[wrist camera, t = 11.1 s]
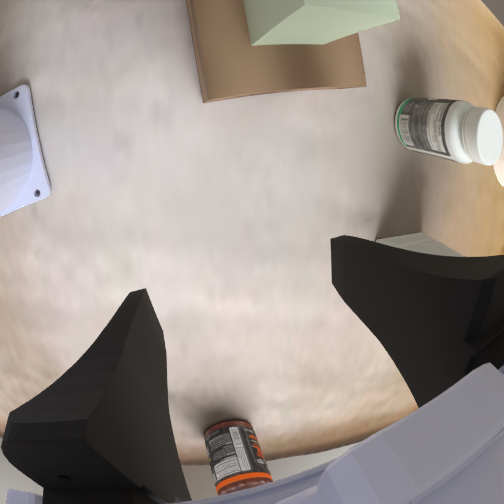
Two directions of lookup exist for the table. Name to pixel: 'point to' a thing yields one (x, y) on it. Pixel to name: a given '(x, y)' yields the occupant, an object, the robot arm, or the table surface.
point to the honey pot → (503, 163)
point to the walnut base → (264, 57)
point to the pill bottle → (450, 130)
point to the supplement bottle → (235, 457)
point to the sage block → (314, 19)
